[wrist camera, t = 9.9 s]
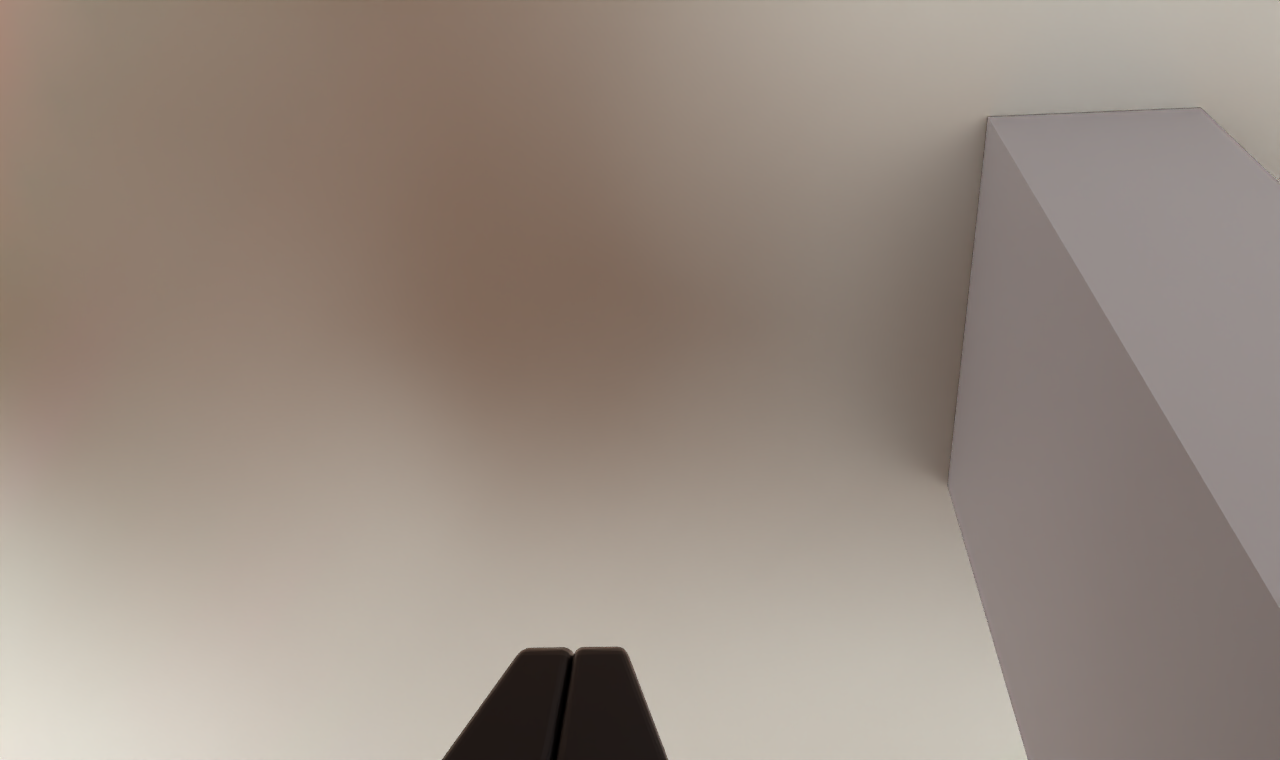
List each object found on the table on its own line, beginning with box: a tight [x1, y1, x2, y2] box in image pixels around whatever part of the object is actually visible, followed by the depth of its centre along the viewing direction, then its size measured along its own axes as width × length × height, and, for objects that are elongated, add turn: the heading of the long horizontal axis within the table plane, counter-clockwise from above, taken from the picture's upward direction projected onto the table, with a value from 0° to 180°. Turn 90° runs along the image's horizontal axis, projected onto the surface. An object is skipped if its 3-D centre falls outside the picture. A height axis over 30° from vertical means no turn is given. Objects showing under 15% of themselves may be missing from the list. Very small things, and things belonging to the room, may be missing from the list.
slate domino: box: [948, 108, 1280, 760], centre depth 10 cm, size 5×2×8 cm, turn 3°
